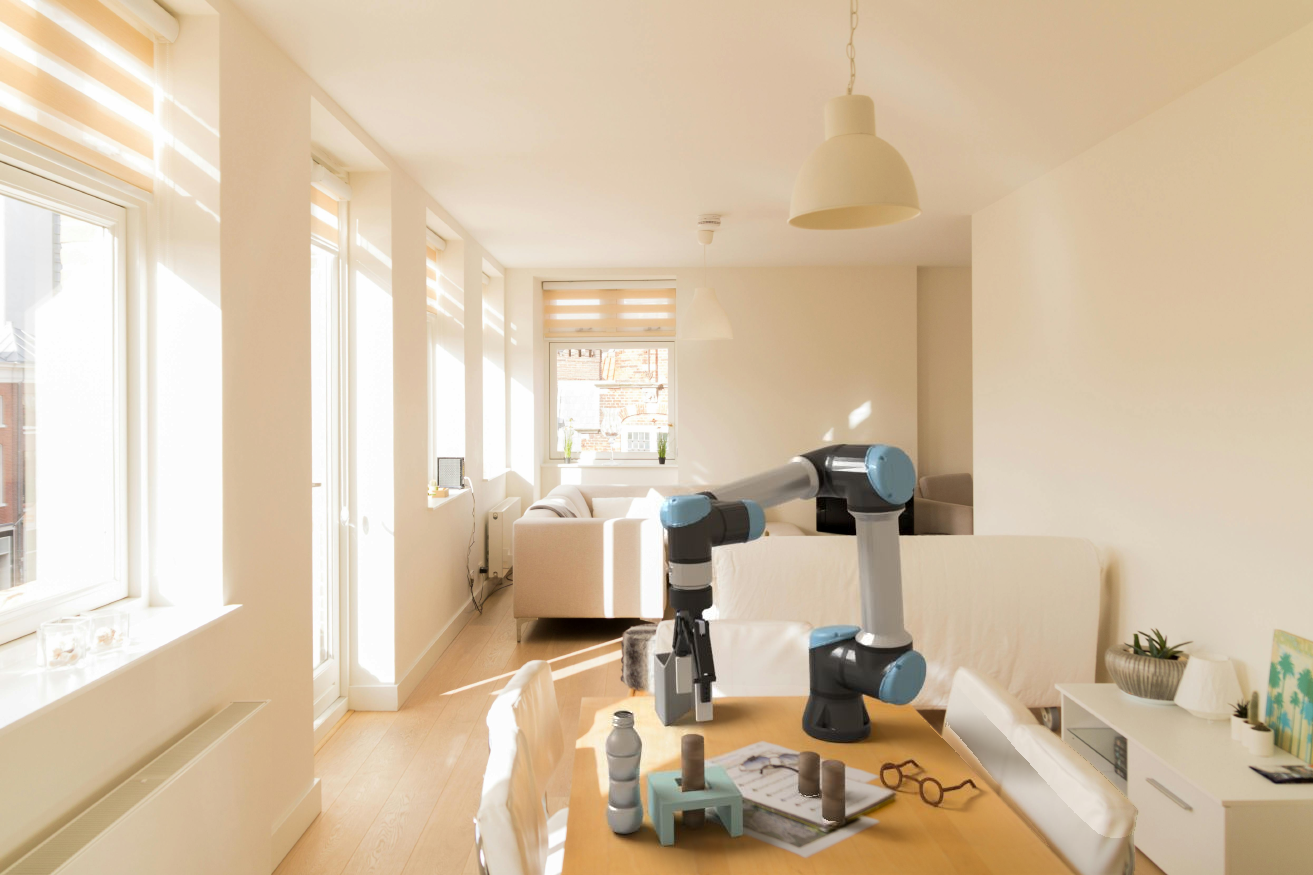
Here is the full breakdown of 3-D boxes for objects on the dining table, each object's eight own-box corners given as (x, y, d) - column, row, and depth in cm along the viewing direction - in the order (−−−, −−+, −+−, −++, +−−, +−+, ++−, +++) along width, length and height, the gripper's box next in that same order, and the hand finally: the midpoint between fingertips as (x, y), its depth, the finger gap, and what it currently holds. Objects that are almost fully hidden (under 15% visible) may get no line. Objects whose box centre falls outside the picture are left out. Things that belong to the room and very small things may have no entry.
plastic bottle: (611, 841, 136) (609, 723, 136) (602, 822, 143) (600, 709, 142) (648, 835, 138) (646, 718, 137) (638, 816, 145) (636, 705, 144)
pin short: (815, 786, 155) (815, 750, 155) (823, 796, 151) (823, 759, 151) (795, 788, 154) (795, 751, 154) (802, 798, 151) (802, 760, 150)
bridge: (722, 802, 149) (721, 764, 149) (742, 835, 138) (742, 794, 137) (647, 811, 146) (647, 773, 146) (662, 845, 135) (661, 804, 134)
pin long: (701, 816, 144) (700, 732, 144) (707, 827, 140) (706, 741, 140) (679, 818, 143) (678, 734, 143) (685, 830, 140) (684, 743, 139)
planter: (671, 698, 204) (670, 622, 204) (699, 704, 200) (698, 626, 200) (637, 720, 190) (636, 638, 190) (666, 726, 186) (665, 642, 186)
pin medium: (839, 813, 145) (839, 758, 144) (849, 824, 141) (849, 767, 140) (818, 816, 144) (817, 760, 143) (827, 827, 140) (827, 770, 139)
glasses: (878, 786, 156) (878, 760, 156) (916, 766, 164) (916, 742, 164) (941, 811, 146) (941, 783, 146) (978, 789, 154) (978, 763, 154)
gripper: (654, 572, 152) (657, 683, 153) (687, 602, 128) (691, 735, 129) (693, 569, 154) (696, 680, 155) (733, 599, 129) (736, 730, 130)
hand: (693, 705), depth 142 cm, fingers open, 13 cm apart
